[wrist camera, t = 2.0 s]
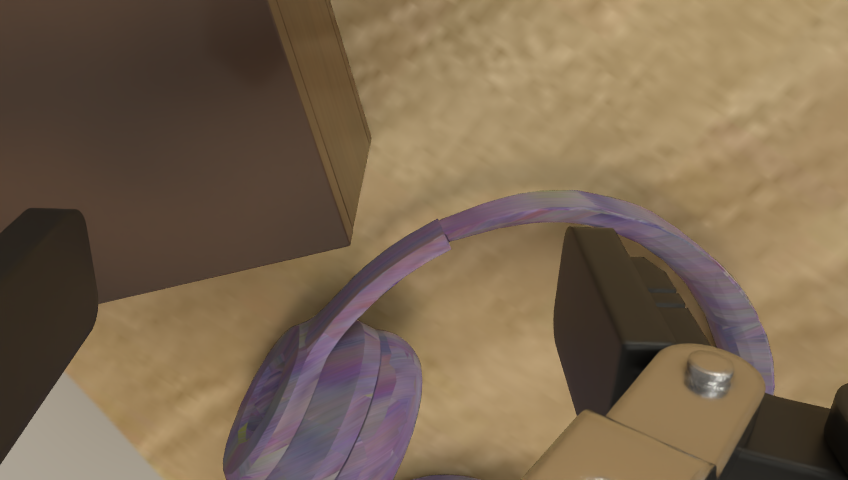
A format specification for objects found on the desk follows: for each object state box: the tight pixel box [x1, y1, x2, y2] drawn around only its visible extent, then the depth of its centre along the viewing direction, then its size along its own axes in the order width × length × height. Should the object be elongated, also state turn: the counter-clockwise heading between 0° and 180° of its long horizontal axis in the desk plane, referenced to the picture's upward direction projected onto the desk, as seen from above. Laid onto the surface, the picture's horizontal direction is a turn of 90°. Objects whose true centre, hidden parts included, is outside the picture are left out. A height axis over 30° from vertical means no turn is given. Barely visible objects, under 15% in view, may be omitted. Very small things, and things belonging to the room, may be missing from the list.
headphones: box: [223, 190, 775, 480], centre depth 30 cm, size 18×8×20 cm
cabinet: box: [0, 0, 371, 304], centre depth 22 cm, size 13×12×9 cm
